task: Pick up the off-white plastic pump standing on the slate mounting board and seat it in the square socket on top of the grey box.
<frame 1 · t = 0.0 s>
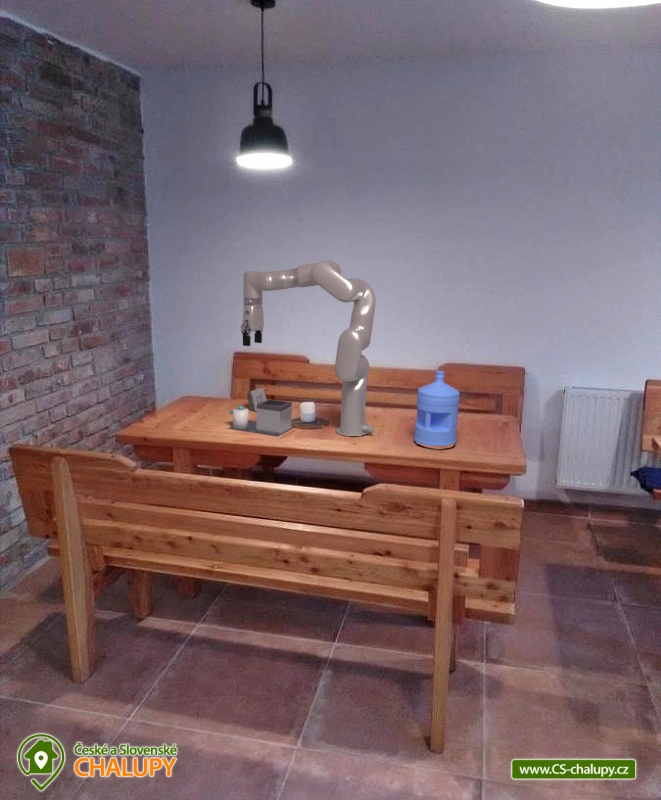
hand: (252, 344, 266), 31 cm above the table, tool pointing down, fingers open, 9 cm apart
pump: (240, 427, 254), point 1 cm above the table, touching grey box
grey box: (261, 431, 254), on the table
electrical switch: (257, 409, 288), on the table
water jug: (434, 444, 247), on the table
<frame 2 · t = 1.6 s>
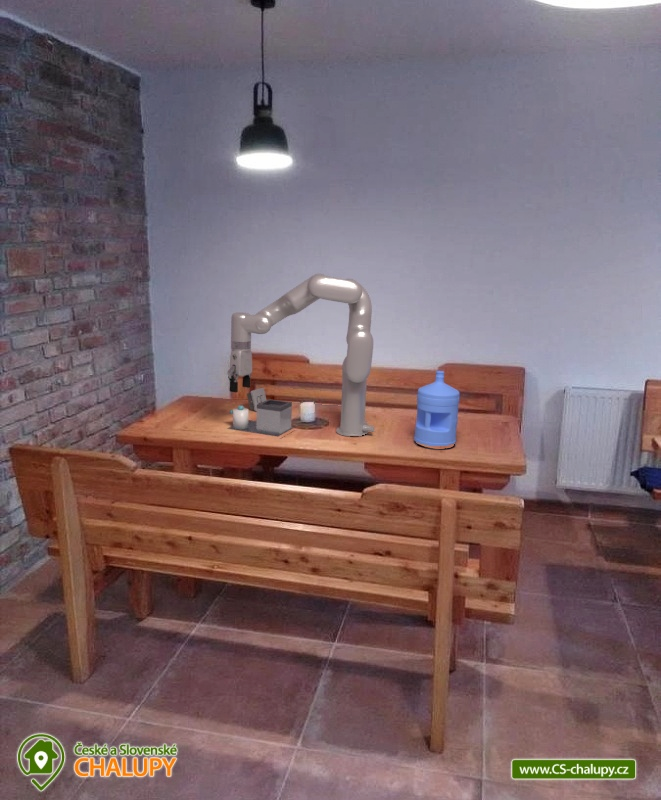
hand: (240, 389, 251), 16 cm above the table, tool pointing down, fingers open, 9 cm apart
nothing on the table moved.
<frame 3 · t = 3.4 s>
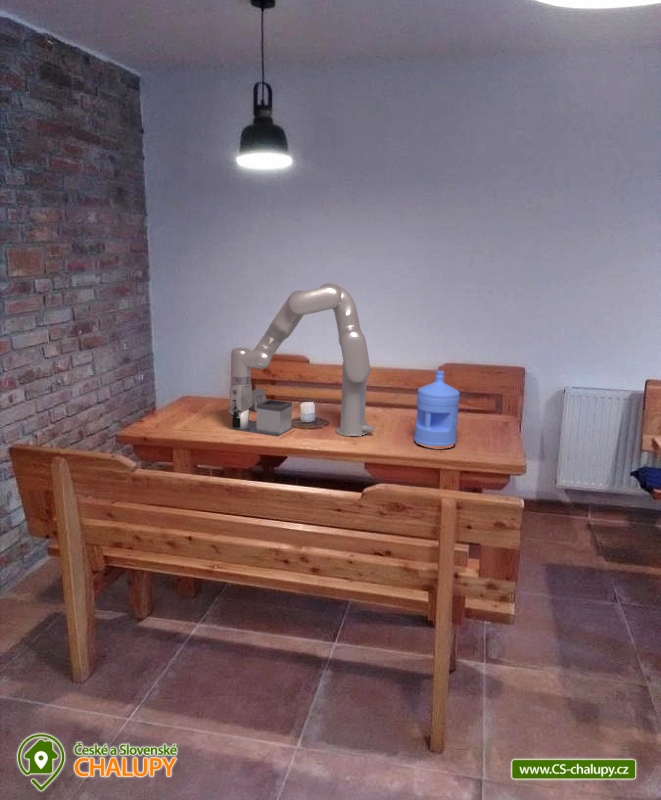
hand: (240, 425, 254), 2 cm above the table, tool pointing down, fingers closed on pump, 6 cm apart
pump: (240, 427, 254), point 1 cm above the table, touching gripper, grey box
everything else where it was.
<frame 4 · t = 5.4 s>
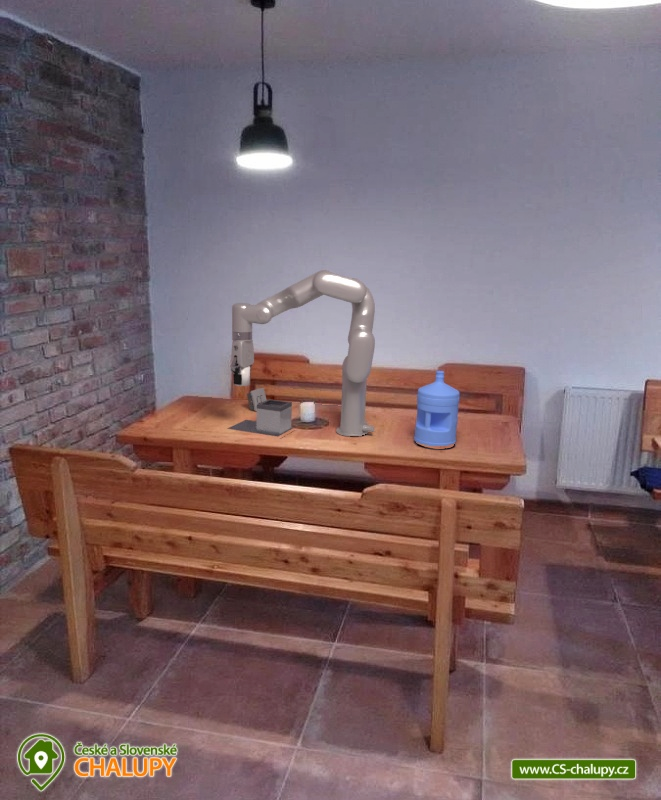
hand: (242, 382, 250), 19 cm above the table, tool pointing down, fingers closed on pump, 6 cm apart
pump: (242, 384, 250), point 19 cm above the table, touching gripper
everything else where it was.
when the fingers open (14 cm above the table, at t = 7.8 s): pump drops 2 cm, resting on grey box.
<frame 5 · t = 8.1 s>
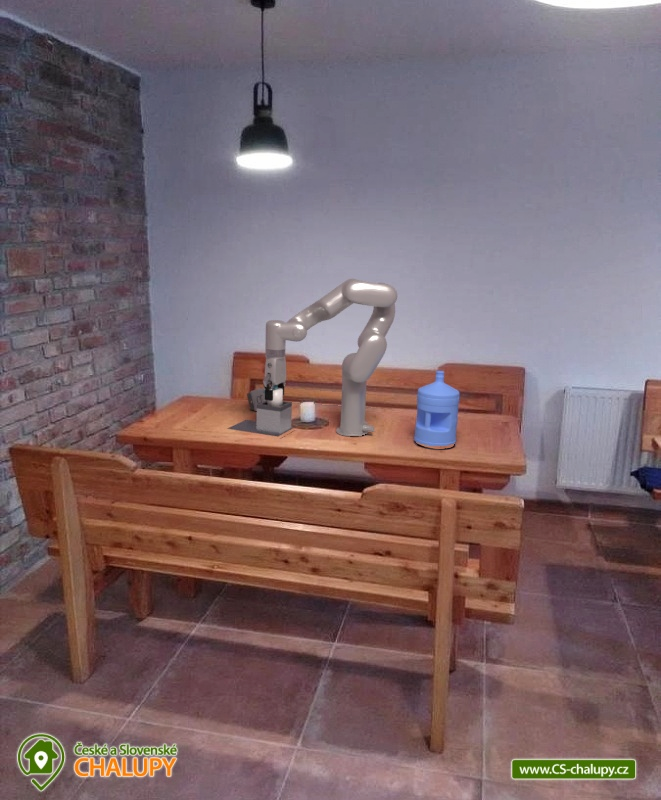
hand: (274, 397, 249), 14 cm above the table, tool pointing down, fingers open, 9 cm apart
pump: (274, 406, 250), point 11 cm above the table, touching grey box
everything else where it was.
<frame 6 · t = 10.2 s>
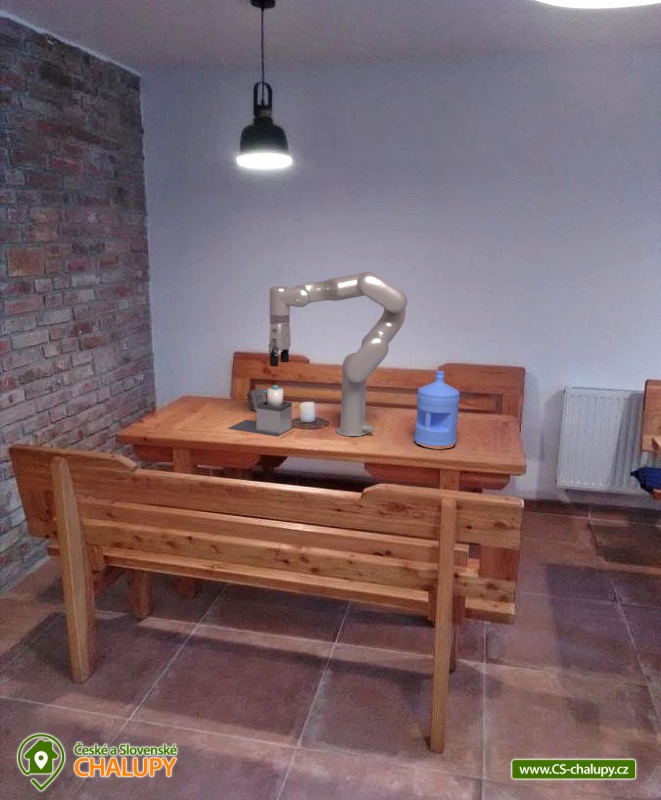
hand: (279, 364, 250), 27 cm above the table, tool pointing down, fingers open, 9 cm apart
nothing on the table moved.
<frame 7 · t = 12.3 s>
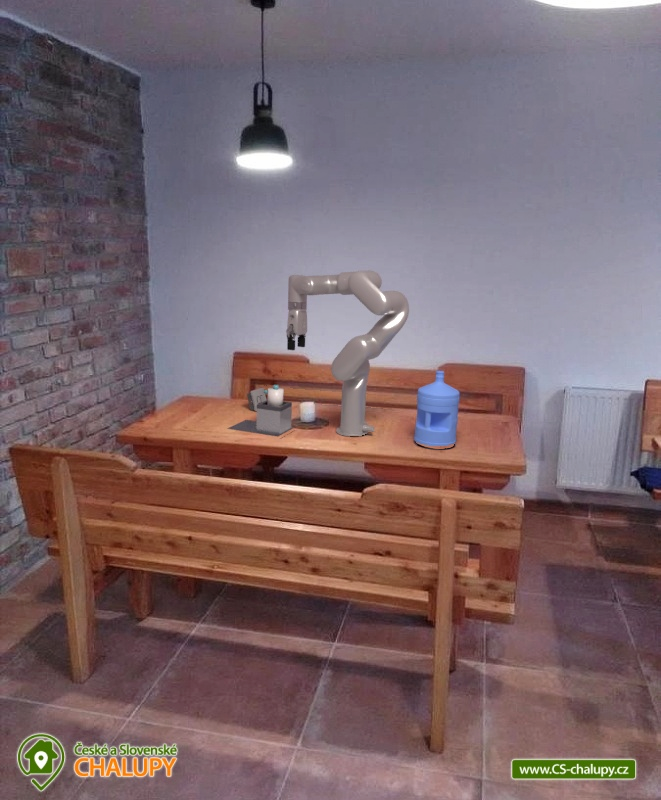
hand: (296, 348, 266), 30 cm above the table, tool pointing down, fingers open, 9 cm apart
nothing on the table moved.
at the end: pump 0.2 cm from the target spot on the grey box, point 10.6 cm above the grey box's base; pump tilted 2°; the gripper is holding nothing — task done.
